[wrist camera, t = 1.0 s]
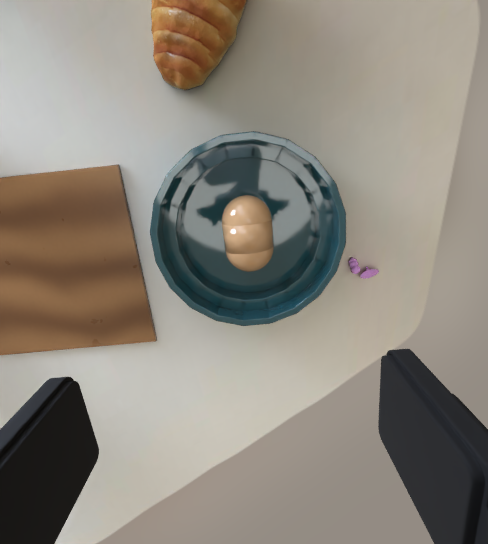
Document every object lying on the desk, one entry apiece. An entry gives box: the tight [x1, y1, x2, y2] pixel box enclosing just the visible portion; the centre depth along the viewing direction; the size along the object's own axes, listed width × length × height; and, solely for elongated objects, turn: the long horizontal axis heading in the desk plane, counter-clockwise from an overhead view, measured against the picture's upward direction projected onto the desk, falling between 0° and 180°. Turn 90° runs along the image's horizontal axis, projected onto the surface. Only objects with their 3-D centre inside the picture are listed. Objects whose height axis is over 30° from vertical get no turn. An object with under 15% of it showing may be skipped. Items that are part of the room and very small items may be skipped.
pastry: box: [151, 0, 247, 90], centre depth 23 cm, size 9×7×4 cm
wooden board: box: [0, 165, 157, 355], centre depth 31 cm, size 18×18×1 cm
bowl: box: [150, 131, 346, 326], centre depth 28 cm, size 16×16×4 cm
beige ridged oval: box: [222, 195, 274, 272], centre depth 27 cm, size 7×4×4 cm, turn 6°
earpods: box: [349, 258, 379, 278], centre depth 31 cm, size 3×2×2 cm
